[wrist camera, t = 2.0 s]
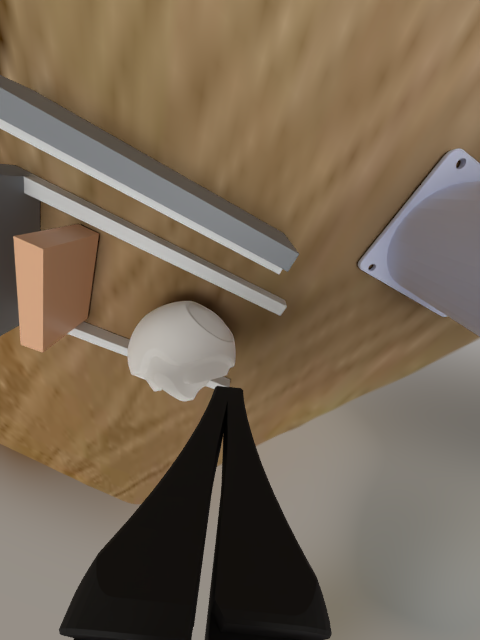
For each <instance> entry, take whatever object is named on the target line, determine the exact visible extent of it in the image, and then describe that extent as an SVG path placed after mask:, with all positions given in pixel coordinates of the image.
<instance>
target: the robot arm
mask: <svg viewBox="0 0 480 640" xmlns="http://www.w3.org/2000/svg"><path fill="white" fill-rule="evenodd" d="M459 160H460V161H461V163H460V166H459V167H458V168H456V164H457V162H458V161H459ZM371 264H373V267H372V268H371V269H368V267H369V266H370V265H371ZM358 267H359V268H360V269H361V270H362V271H364V272H366V273H368V274H369V275H371V276H373V277H375V278H376V279H378V280H380V281H381V282H383V283H385V284H387V285H388V286H390V287H392V288H394V289H395V290H397V291H399V292H400V293H402V294H404V295H406V296H407V297H409V298H411V299H413V300H414V301H416V302H418V303H419V304H421V305H423V306H425V307H426V308H428V309H430V310H432V311H433V312H435V313H437V314H438V315H440V316H442V317H447V316H448V317H450V318H451V319H453V320H454V321H456V322H458V323H459V324H461V325H462V326H464V327H465V328H467V329H468V330H470V331H472V332H473V333H475V334H476V335H478V336H479V337H480V163H479V162H477V161H476V160H475V159H474V158H473V157H471V156H470V155H469V154H468V153H466V152H465V151H464V150H463V149H460V148H458V149H453V150H450V151H449V152H447V153H446V154H445V155H444V156H443V158H442V159H441V160H440V161H439V163H438V164H437V165H436V166H435V168H434V169H433V170H432V171H431V172H430V174H429V175H428V176H427V177H426V179H425V180H424V181H423V182H422V184H421V185H420V186H419V187H418V189H417V190H416V191H415V192H414V193H413V195H412V196H411V197H410V198H409V200H408V201H407V202H406V203H405V205H404V206H403V207H402V208H401V210H400V211H399V212H398V213H397V214H396V216H395V217H394V218H393V219H392V221H391V222H390V223H389V224H388V226H387V227H386V228H385V229H384V231H383V232H382V233H381V234H380V236H379V237H378V238H377V239H376V240H375V242H374V243H373V244H372V245H371V247H370V248H369V249H368V250H367V252H366V253H365V254H364V255H363V257H362V258H361V259H360V260H359V262H358ZM223 433H224V435H223ZM222 438H223V462H222V486H221V498H220V507H219V517H218V525H217V535H216V545H215V553H214V562H213V572H212V580H211V589H210V598H209V606H208V615H207V624H206V634H205V640H325V639H329V638H330V636H331V628H330V621H329V617H328V613H327V609H326V605H325V601H324V598H323V595H322V592H321V589H320V586H319V583H318V580H317V577H316V575H315V573H314V572H313V570H312V568H311V566H310V564H309V562H308V561H307V559H306V557H305V555H304V553H303V551H302V549H301V548H300V546H299V544H298V542H297V540H296V538H295V536H294V534H293V532H292V530H291V528H290V526H289V524H288V523H287V520H286V518H285V516H284V514H283V512H282V510H281V508H280V505H279V503H278V501H277V499H276V497H275V495H274V493H273V490H272V488H271V486H270V483H269V481H268V478H267V476H266V474H265V471H264V469H263V466H262V464H261V461H260V458H259V455H258V452H257V449H256V446H255V443H254V440H253V437H252V433H251V430H250V426H249V422H248V419H247V414H246V410H245V404H244V398H243V390H242V389H241V388H232V387H224V386H216V387H215V389H214V392H213V395H212V398H211V400H210V402H209V404H208V407H207V409H206V411H205V413H204V415H203V416H202V418H201V420H200V422H199V424H198V426H197V427H196V429H195V431H194V432H193V434H192V436H191V437H190V439H189V441H188V442H187V444H186V445H185V447H184V448H183V450H182V451H181V453H180V454H179V456H178V457H177V459H176V460H175V462H174V463H173V464H172V466H171V467H170V469H169V470H168V471H167V473H166V474H165V475H164V477H163V478H162V479H161V481H160V482H159V483H158V485H157V486H156V487H155V488H154V490H153V491H152V492H151V493H150V495H149V496H148V497H147V498H146V499H145V501H144V502H143V503H142V504H141V505H140V507H139V508H138V509H137V510H136V512H135V513H134V514H133V515H132V516H131V518H130V519H129V520H128V521H127V522H126V523H125V524H124V525H123V527H122V528H121V529H120V530H119V531H118V532H117V533H116V534H115V535H114V537H113V538H112V539H111V540H110V541H109V542H108V543H107V544H106V545H105V547H104V548H103V549H102V550H101V551H100V552H99V553H98V555H97V557H96V558H95V560H94V561H93V563H92V564H91V566H90V567H89V569H88V571H87V573H86V574H85V576H84V577H83V579H82V581H81V583H80V585H79V587H78V589H77V590H76V592H75V594H74V597H73V599H72V601H71V603H70V606H69V608H68V610H67V613H66V615H65V617H64V619H63V622H62V624H61V626H60V629H59V631H60V634H61V635H64V636H68V637H73V638H74V640H191V637H192V630H193V627H194V621H195V613H196V605H197V598H198V591H199V583H200V575H201V568H202V561H203V552H204V545H205V538H206V530H207V523H208V516H209V508H210V501H211V493H212V487H213V482H214V477H215V472H216V467H217V462H218V457H219V453H220V448H221V443H222Z"/></svg>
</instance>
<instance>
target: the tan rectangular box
mask: <svg viewBox="0 0 480 640" xmlns="http://www.w3.org/2000/svg"><path fill="white" fill-rule="evenodd" d="M13 238H14V253H15V267H16V282H17V296H18V310H19V325H20V339H21V345H23V346H26V347H29V348H32V349H34V350H37V351H40V352H44V351H46V350H47V349H48V348H49V347H51V346H52V345H53V344H55V343H56V342H57V341H59V340H60V339H61V338H62V337H64V336H65V335H66V334H68V333H69V332H70V331H72V330H73V329H74V328H75V327H77V326H78V325H79V324H81V323H82V322H83V321H85V320H86V319H87V318H88V311H89V304H90V297H91V289H92V282H93V275H94V267H95V260H96V252H97V245H98V238H99V233H96V232H94V231H92V230H90V229H88V228H86V227H84V226H82V225H80V224H75V225H70V226H64V227H59V228H54V229H48V230H43V231H38V232H32V233H27V234H22V235H16V236H13Z"/></svg>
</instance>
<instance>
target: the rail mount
mask: <svg viewBox="0 0 480 640" xmlns="http://www.w3.org/2000/svg"><path fill="white" fill-rule="evenodd" d="M0 129H2V130H4V131H6V132H8V133H10V134H12V135H14V136H16V137H18V138H20V139H21V140H23V141H25V142H27V143H29V144H31V145H33V146H35V147H37V148H39V149H41V150H42V151H44V152H46V153H48V154H50V155H52V156H54V157H56V158H58V159H60V160H62V161H63V162H65V163H67V164H69V165H71V166H73V167H75V168H77V169H79V170H81V171H83V172H84V173H86V174H88V175H90V176H92V177H94V178H96V179H98V180H100V181H102V182H104V183H105V184H107V185H109V186H111V187H113V188H115V189H117V190H119V191H121V192H123V193H125V194H126V195H128V196H130V197H132V198H134V199H136V200H138V201H140V202H142V203H144V204H146V205H147V206H149V207H151V208H153V209H155V210H157V211H159V212H161V213H163V214H165V215H167V216H168V217H170V218H172V219H174V220H176V221H178V222H180V223H182V224H184V225H186V226H188V227H189V228H191V229H193V230H195V231H197V232H199V233H201V234H203V235H205V236H207V237H209V238H210V239H212V240H214V241H216V242H218V243H220V244H222V245H224V246H226V247H228V248H230V249H231V250H233V251H235V252H237V253H239V254H241V255H243V256H245V257H247V258H249V259H251V260H252V261H254V262H256V263H258V264H260V265H262V266H264V267H266V268H268V269H270V270H272V271H273V272H275V273H277V274H280V272H281V271H282V269H284V270H286V271H287V272H288V271H289V269H290V267H291V266H292V264H293V263H294V261H295V260H296V258H297V257H298V255H299V253H298V252H297V250H296V249H295V248H294V246H293V245H292V244H291V242H290V241H289V240H288V238H287V237H286V236H285V234H284V233H282V232H281V231H279V230H277V229H275V228H274V227H272V226H270V225H268V224H267V223H265V222H263V221H261V220H260V219H258V218H256V217H254V216H253V215H251V214H249V213H247V212H246V211H244V210H242V209H240V208H239V207H237V206H235V205H233V204H232V203H230V202H228V201H226V200H225V199H223V198H221V197H219V196H218V195H216V194H214V193H212V192H211V191H209V190H207V189H205V188H204V187H202V186H200V185H198V184H196V183H195V182H193V181H191V180H189V179H188V178H186V177H184V176H182V175H181V174H179V173H177V172H175V171H174V170H172V169H170V168H168V167H167V166H165V165H163V164H161V163H160V162H158V161H156V160H154V159H153V158H151V157H149V156H147V155H146V154H144V153H142V152H140V151H139V150H137V149H135V148H133V147H132V146H130V145H128V144H126V143H125V142H123V141H121V140H119V139H118V138H116V137H114V136H112V135H111V134H109V133H107V132H105V131H104V130H102V129H100V128H98V127H97V126H95V125H93V124H91V123H90V122H88V121H86V120H84V119H82V118H81V117H79V116H77V115H75V114H74V113H72V112H70V111H68V110H67V109H65V108H63V107H61V106H60V105H58V104H56V103H54V102H53V101H51V100H49V99H47V98H46V97H44V96H42V95H40V94H39V93H37V92H35V91H33V90H32V89H29V88H27V87H25V86H23V85H21V84H19V83H16V82H14V81H12V80H10V79H8V78H5V77H3V76H1V75H0ZM40 201H42V202H44V203H46V204H48V205H50V206H53V207H55V208H57V209H59V210H61V211H63V212H65V213H67V214H69V215H71V216H73V217H75V218H78V219H80V220H82V221H84V222H86V223H88V224H90V225H92V226H94V227H96V228H98V229H100V230H103V231H105V232H107V233H109V234H111V235H113V236H115V237H117V238H119V239H121V240H123V241H125V242H127V243H130V244H132V245H134V246H136V247H138V248H140V249H142V250H144V251H146V252H148V253H150V254H152V255H155V256H157V257H159V258H161V259H163V260H165V261H167V262H169V263H171V264H173V265H175V266H177V267H180V268H182V269H184V270H186V271H188V272H190V273H192V274H194V275H196V276H198V277H200V278H202V279H204V280H207V281H209V282H211V283H213V284H215V285H217V286H219V287H221V288H223V289H225V290H227V291H229V292H232V293H234V294H236V295H238V296H240V297H242V298H244V299H246V300H248V301H250V302H252V303H254V304H257V305H259V306H261V307H263V308H265V309H267V310H269V311H271V312H273V313H275V314H277V315H279V316H280V315H281V314H282V313H283V311H284V310H285V308H286V307H287V305H286V302H285V300H284V299H282V298H280V297H278V296H276V295H274V294H272V293H270V292H268V291H266V290H264V289H262V288H260V287H258V286H256V285H254V284H252V283H250V282H248V281H246V280H244V279H242V278H240V277H238V276H236V275H234V274H232V273H230V272H228V271H226V270H224V269H222V268H220V267H218V266H216V265H214V264H212V263H210V262H208V261H206V260H204V259H202V258H200V257H198V256H196V255H194V254H192V253H190V252H188V251H186V250H184V249H182V248H180V247H178V246H176V245H174V244H172V243H170V242H168V241H166V240H164V239H162V238H160V237H158V236H156V235H154V234H152V233H150V232H148V231H146V230H144V229H142V228H140V227H138V226H136V225H134V224H132V223H130V222H128V221H126V220H124V219H122V218H120V217H118V216H116V215H114V214H112V213H110V212H108V211H106V210H104V209H102V208H100V207H98V206H96V205H94V204H92V203H90V202H88V201H86V200H84V199H82V198H80V197H78V196H76V195H74V194H72V193H70V192H68V191H66V190H64V189H62V188H60V187H58V186H56V185H54V184H52V183H50V182H48V181H46V180H44V179H42V178H40V177H38V176H36V175H34V174H32V173H30V172H28V171H26V170H24V169H22V168H20V167H18V166H16V165H7V164H0V336H1V335H3V334H5V333H6V332H8V331H10V330H12V329H13V328H15V327H17V326H19V310H18V296H17V282H16V267H15V253H14V238H13V236H16V235H22V234H27V233H32V232H38V231H40ZM68 334H69V335H72V336H75V337H77V338H80V339H82V340H85V341H88V342H90V343H93V344H96V345H98V346H101V347H104V348H106V349H109V350H112V351H114V352H117V353H120V354H122V355H125V356H128V345H129V342H130V340H129V339H127V338H124V337H121V336H119V335H116V334H114V333H111V332H109V331H106V330H104V329H101V328H99V327H96V326H93V325H91V324H88V323H86V322H82V323H81V324H79V325H78V326H77V327H75V328H74V329H73V330H72V331H70V332H69V333H68ZM205 386H207V387H210V388H213V389H215V387H216V386H224V387H229V386H230V379H228V378H226V377H223V376H222V377H219V378H216V379H212V380H210V381H209V382H208V384H207V385H205Z"/></svg>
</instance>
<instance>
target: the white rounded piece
mask: <svg viewBox="0 0 480 640" xmlns="http://www.w3.org/2000/svg"><path fill="white" fill-rule="evenodd" d="M235 355H236V351H235V341H234V336H233V334H232V332H231V331H230V329H229V328H228V327H227V326H226V324H225V323H224V322H223V320H222V319H221V318H220V317H219V316H218V315H217V314H215V313H214V312H213V311H211V310H209V309H208V308H206V307H204V306H203V305H201V304H199V303H196V302H193V301H179V302H173V303H169V304H166V305H163V306H161V307H158V308H156V309H154V310H153V311H151V312H150V313H148V314H147V315H146V316H145V317H143V319H142V320H141V321H140V322H139V323H138V325H137V326H136V328H135V330H134V332H133V334H132V336H131V338H130V342H129V345H128V365H129V368H130V372H131V374H132V375H135V376H137V377H140V378H142V379H145V380H147V382H148V383H149V385H150V386H151V388H152V389H153V391H160V390H162V389H163V390H164V391H166V392H167V393H168V394H170V395H171V396H173V397H175V398H176V399H178V400H180V401H189V400H193V399H194V398H195V396H196V394H197V393H198V391H199V390H200V389H201V388H203V387H204V386H205V385H207V384H208V382H209V381H210V380H212V379H216V378H219V377H222V376H225V375H227V373H228V371H229V369H230V368H231V367H233V366H234V365H235Z"/></svg>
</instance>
